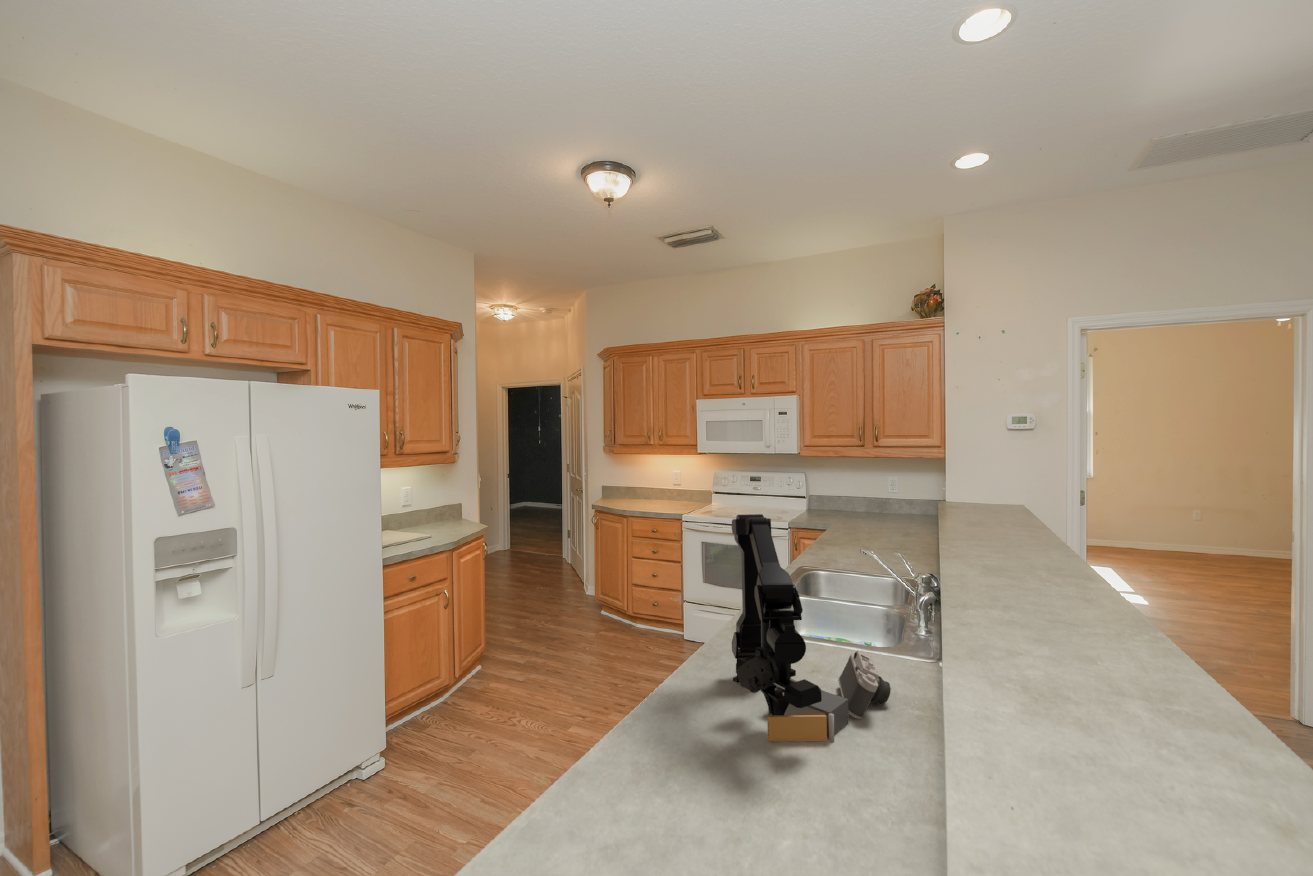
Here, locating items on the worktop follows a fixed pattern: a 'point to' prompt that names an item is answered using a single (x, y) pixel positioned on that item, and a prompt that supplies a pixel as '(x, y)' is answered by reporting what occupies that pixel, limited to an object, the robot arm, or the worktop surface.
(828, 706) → the case
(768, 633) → the robot arm
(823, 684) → the worktop surface
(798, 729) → the brown rectangular block
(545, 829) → the worktop surface
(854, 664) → the camera
